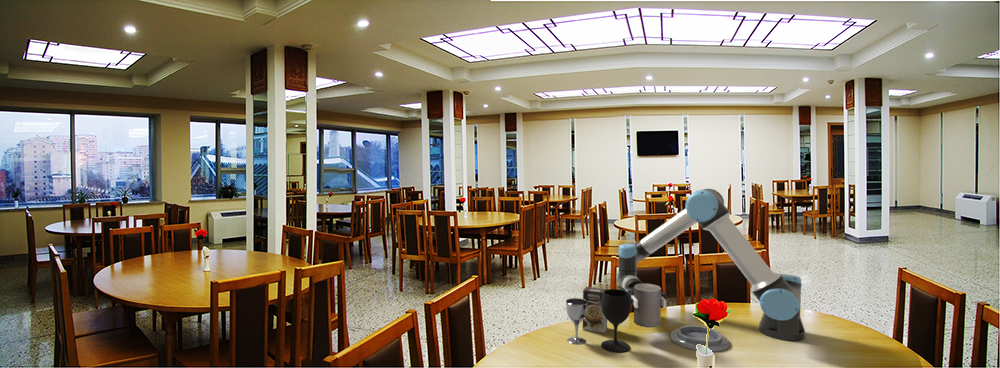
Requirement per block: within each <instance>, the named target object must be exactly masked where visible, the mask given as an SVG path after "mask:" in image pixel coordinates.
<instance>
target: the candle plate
mask: <svg viewBox="0 0 1000 368" xmlns="http://www.w3.org/2000/svg"><path fill="white" fill-rule="evenodd" d="M707 328H708V327H705V326H700V325H691V324H690V325H689V324H688V325H683V326H680V327H679V328H677V329H674V330H672V331H670V340H671V341H672V342H673V343H674V344H675V345H678V346H680V347H681V348H683V349H684V348H685V349H688V350H691V351H696V352H698V351H697V349H696V345H697V344H701V345H704V346H705V345H706V334H707ZM708 348H709V349H710V350H712V352H711V353H719V352H723V351H726V350H728V348H730V341H729V339H728V338H727V337H726V336H724V335H722V334H721V333H720V332H719V331H717V330H715V329H713V328H710V331H709V338H708Z"/></svg>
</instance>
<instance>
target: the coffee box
mask: <svg viewBox="0 0 1000 368" xmlns="http://www.w3.org/2000/svg"><path fill="white" fill-rule="evenodd" d="M605 290H608V288H601V287H592V286H585V288H584V289H582V299H584V300H586V301H587V303H588V306H587V314H586V317H585V319H583V320H582V331H588V332H595V333H603V334H605V333H606V332H607V329H608V320H607V319H606V318H605V316H604V315H603V313H602V309H601V300H602V295H603V292H604V291H605Z"/></svg>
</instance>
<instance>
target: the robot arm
mask: <svg viewBox="0 0 1000 368" xmlns="http://www.w3.org/2000/svg"><path fill="white" fill-rule="evenodd" d="M730 216H731V211H729V209H728V208H727V207H726V206H725V199H724V197H723V195H722V194H721V192H719V191H717V190H715V189H713V188H704V189H700V190H695V191H694V192H692V193H691V194H690V195H689V196H688V197H687V199H686V201H685V208H684V209H681V211H679V212H677V214H675V215H674V216H672V217H671V218H670V219H668V220H666V221H665V222H664V223H662V224H661V225H660V226H659V227H657V228H656V229H654V230H653V231H651V232H650V233H648V234H646V236H644V237H643V238H642V239H640V240H639V241H637V242H635V244H633V243H632V244H631V243H623V244H620V245H619V246H618V252H617V253H618V272H617V274H616V281H617V283H618V285H619V286H620V287H621V288H620V290H624V291H626V292H628V294H629V297H630V303H631V304H632V305H633V307H634V306H635V308H638V300H637V299H636V298H635V297H634V286H635V285H637V284H644V282H642V281H641V280H640V278H639V277H637V274H638V272H637V271H638V269H637V267H638V265H637V264H638V263H639V262H641V261H643V260H645V259H646V258H647V257H648V256H650V255H652V254H653V253H654V252H656V251H658V249H660V248H662V247H664V245H666V244H668V243H669V242H671V241H672V240H674V239H675V238H676V237H678V236H680V235H681V234H682V233H684V232H685V231H686V230H687V231H688V229H690V228H691V227H693V226H694V225H696V224H698V225H699V226H700V228H701V229H702V230H703V231H708V232H710V233H711V234H712V236H713V237H714V238H715V240H716V241H717V242H718V243H719V245H720V246H721V247H722V249H723V250H724V251H725V252H726V254H727V255H728V257H729V258H730V259H731V261H733V263H734V264H735V265H736V267H737V269H739V271H741V273H742V274H743V276H744V278H746V279H747V281H748V282H749V283H750V284H751V288H750V289H751V293H752V294H753V295H754V297H755V298H756V299H757V300H758V302H759V306H760V309H761V310H762V312H763V314H762V316H761V318H760V321H759V325H758V330H759V332H760V333H762V334H763V335H765V336H768V337H771V338H774V339H777V340H783V341H792V342H793V341H794V342H795V341H801V340H802V341H803V340H804V339H806V330H805V327H804V323H803V321H802V318H801V301H802V300H801V299H802V286H803V285H802V279H801V278H800V277H799V276H797V275H791V274H788V273H787V274H786V273H779V272H777V273H776V272H774V271H773V270H772V269H771V268H770V266H768V264H767V263H766V262H765V260H764V259H763V258H762V257H761V255H760V254H759V253H758V251H756V249H755V248H754V247H753V246H752V245H751V243H750V242H749V240H748V239H747V238H746V237H745V235H744V234H743V233H742V232H741V231H740V229H739V228H738V227H737V225H735V223H734V222H733V221H732V220H731V218H730ZM667 298H668V294H667V293H664V292H662V291H661V307H663V308H664V309H666V308H667V300H668V299H667Z"/></svg>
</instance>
